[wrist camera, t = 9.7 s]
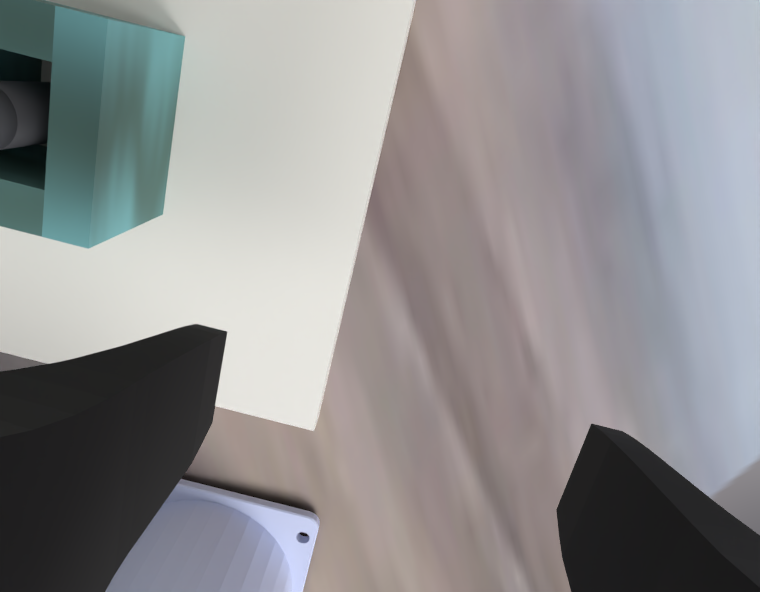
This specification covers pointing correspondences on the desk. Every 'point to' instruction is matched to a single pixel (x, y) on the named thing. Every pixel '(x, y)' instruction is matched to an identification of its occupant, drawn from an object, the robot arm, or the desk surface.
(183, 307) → the white square slab
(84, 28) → the teal hollow square tube
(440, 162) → the desk surface
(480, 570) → the desk surface
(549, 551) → the desk surface
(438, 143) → the desk surface
